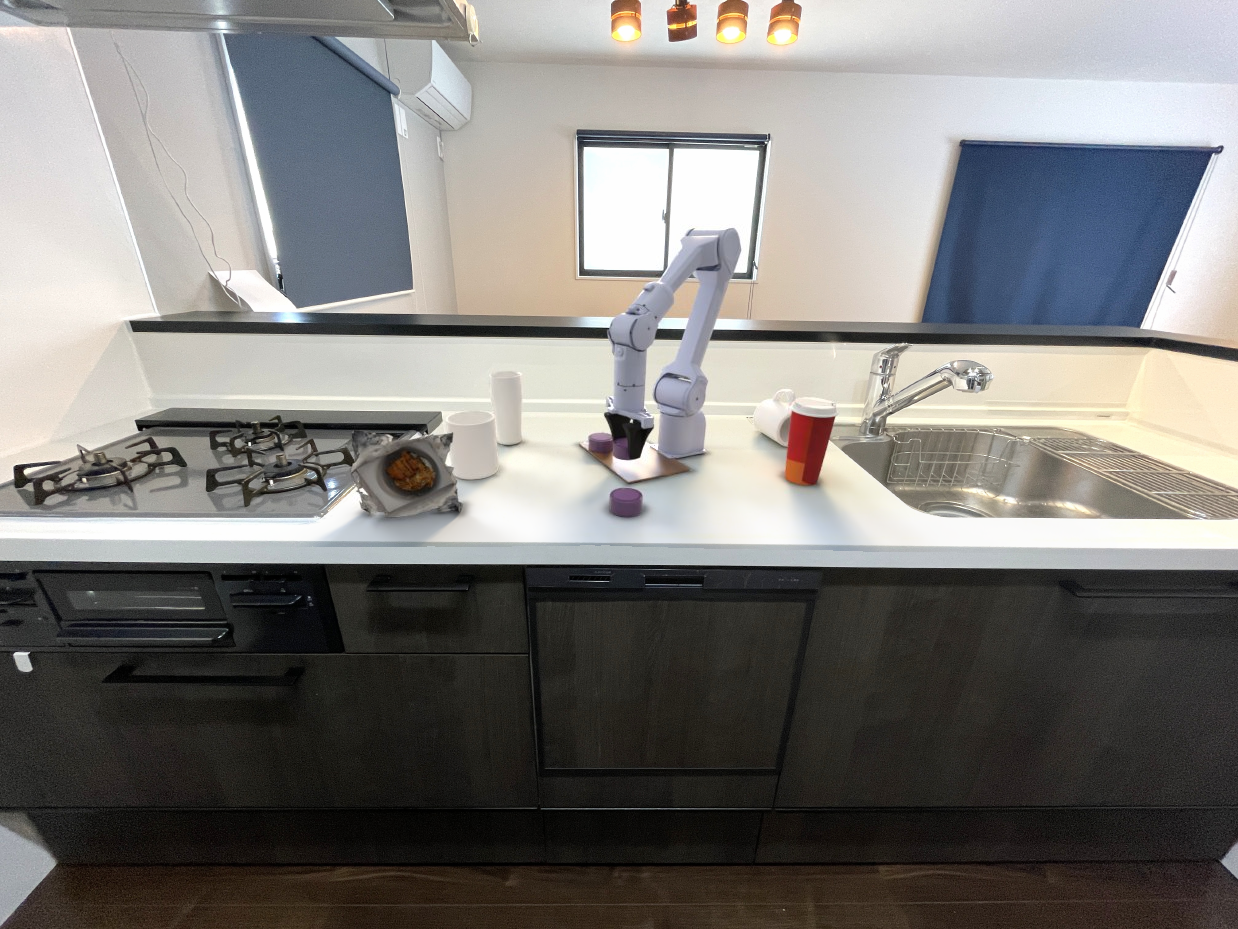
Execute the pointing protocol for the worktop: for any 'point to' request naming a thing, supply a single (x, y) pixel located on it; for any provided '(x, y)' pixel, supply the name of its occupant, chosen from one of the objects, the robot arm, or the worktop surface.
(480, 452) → the mug
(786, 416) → the mug
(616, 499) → the dish bottom
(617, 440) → the dish middle
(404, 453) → the meal
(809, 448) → the coffee cup
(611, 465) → the mat
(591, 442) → the dish top
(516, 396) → the drinking glass
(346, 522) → the worktop surface
